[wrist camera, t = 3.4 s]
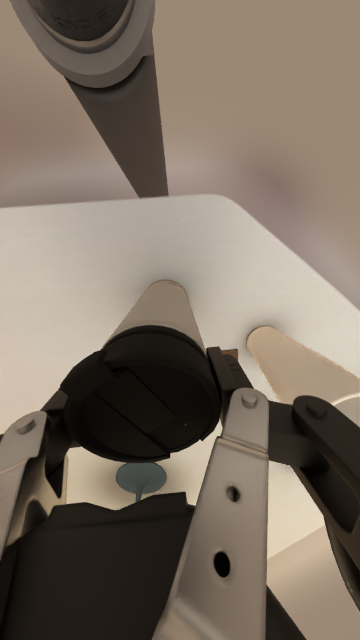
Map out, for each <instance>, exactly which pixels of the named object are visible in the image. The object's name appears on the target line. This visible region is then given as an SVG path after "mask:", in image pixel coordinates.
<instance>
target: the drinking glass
mask: <svg viewBox="0 0 360 640" xmlns="http://www.w3.org/2000/svg"><path fill="white" fill-rule="evenodd" d="M247 348H248V351H249V352H250V354H251V355H252V356H253V358H254V359H255V361H256V363H257V364H258V366H259V368H260V369H261V371H262V373H263V374H264V376H265V378H266V379H267V381H268V383H269V385H270V386H271V388H272V390H273V391H274V393H275V395H276V396H277V398H278V400H279V401H280V403H284V404H291V405H293V401H294V399H295V398H296V397H298V396H302V395H310V396H315V397H318V398H321V399H323V400H325V401H327V402H329V403H331V404H332V405H333V406H334V407H336V408H337V409H338V410H339V411H341V412H342V413H343V414H344V415H345V416H347V417H348V418H349V419H350V420H352V421H353V422H354V423H355V424H356V425H358V426H359V427H360V378H358V377H357V376H355V375H354V374H352V373H351V372H349V371H348V370H346V369H345V368H343V367H341V366H340V365H338V364H336V363H335V362H333V361H331V360H329V359H328V358H326V357H324V356H322V355H320V354H319V353H317V352H315V351H313V350H311V349H309V348H308V347H306V346H304V345H302V344H300V343H299V342H297V341H295V340H293V339H291V338H290V337H288V336H286V335H284V334H283V333H281V332H280V331H278V330H277V329H275V328H273V327H269V326H264V327H260V328H257V329H256V330H254V331H253V332H252V333H251V334H250V335H249V337H248V340H247Z"/></svg>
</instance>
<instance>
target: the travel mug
mask: <svg viewBox="0 0 360 640" xmlns="http://www.w3.org/2000/svg"><path fill="white" fill-rule="evenodd" d="M60 388H61V390H62V391H63V392H64V393H65V394H66V395H68V396H67V399H66V402H65V405H64V421H65V424H66V427H67V430H68V431H69V433H70V434H71V436H72V437H73V439H74V440H75V441H76V442H77V443H79V444H80V445H81V446H82V447H83V448H85V449H87V450H88V451H90V452H91V453H93V454H96V455H98V456H100V457H103V458H106V459H110V460H113V461H118V462H125V463H152V462H157V461H161V460H164V459H168V458H170V453H173V452H179V451H181V450H183V449H186V448H188V447H190V446H191V445H193V444H194V443H196V442H198V441H199V439H200V440H201V441H203V440H204V439H205V438H206V437H207V436H208V435H210V434H211V433H212V432H213V431H214V429H215V427H216V426H217V424H218V422H219V418H220V414H221V400H220V397H219V394H218V391H217V388H216V385H215V382H214V379H213V376H212V373H211V370H210V363H209V360H208V357H207V354H206V351H205V348H204V345H203V342H202V339H201V336H200V333H199V330H198V327H197V324H196V321H195V318H194V315H193V312H192V309H191V306H190V303H189V300H188V297H187V294H186V292H185V290H184V289H183V288H182V286H180V285H179V284H178V283H176V282H174V281H170V280H161V281H158V282H155V283H154V284H152V285H151V286H150V287H149V288H148V289H147V290H146V292H145V293H144V294H143V296H142V297H141V298H140V299H139V301H138V302H137V303H136V305H135V306H134V307H133V308H132V310H131V311H130V312H129V313H128V315H127V316H126V317H125V319H124V320H123V321H122V322H121V324H120V325H119V326H118V328H117V329H116V330H115V331H114V333H113V334H112V335H111V337H110V338H109V339H108V340H107V342H106V343H105V344H104V346H103V347H102V349H101V350H100V351H97V352H94V353H93V354H91V355H89V356H88V357H86V358H85V359H83V360H82V361H81V362H79V363H78V364H77V365H76V366H74V367H73V368H72V370H71V371H70V372H69V374H68V375H67V376H66V378H65V379H64V380H63V382H62V383H61V385H60Z"/></svg>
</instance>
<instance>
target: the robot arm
mask: <svg viewBox="0 0 360 640" xmlns="http://www.w3.org/2000/svg"><path fill="white" fill-rule="evenodd" d="M26 1H27V3H28V5H29V6H30V8H31V10H32V12H33V13H34V15H35V17H36V18H37V20H38V21H39V22H40V24H41V25H42V26H43V28H44V29H45V30H46V31H47V32H48V33H49V34H50V35H51V36H52V37H53V38H54V39H55V40H56V41H58V42H59V43H60V44H62V45H63V46H65V47H67V48H69V49H71V50H74V51H76V52H81V53H96V52H100V51H102V50H105V49H106V48H108V47H110V46H111V45H112V44H113V43H115V42H116V41H117V40H118V38H119V37H120V36H121V35H122V33H123V32H124V30H125V28H126V26H127V24H128V22H129V20H130V17H131V14H132V11H133V8H134V4H135V0H26ZM206 352H207V357H208V360H209V363H210V370H211V373H212V376H213V379H214V382H215V385H216V388H217V391H218V394H219V397H220V400H221V414H220V420H221V424H222V427H223V429H222V433H221V436H220V437H219V436H217V438H216V439H215V442H214V445H213V449H212V452H211V455H210V459H209V462H208V466H207V469H206V473H205V476H204V479H203V483H202V486H201V490H200V493H199V496H198V500H197V503H196V506H193V505H190V504H188V503H187V497H186V492H178V493H168V494H159V495H152V496H150V497H147V498H145V499H143V500H141V501H138V502H136V503H134V504H131V505H129V506H127V507H124V508H122V509H120V510H111V509H108V508H104V507H101V506H97V505H94V504H90V503H87V502H83V503H74V504H66V496H67V477H68V456H67V454H66V453H67V451H68V449H69V448H74V447H81V445H80V444H79V443H77V442H76V441H75V440H74V439H73V437H72V436H71V434H70V433H69V431H68V430H67V427H66V424H65V421H64V405H65V402H66V399H67V396H68V395H66V394H65V393H64V392H63V391H62V390H61V388H59V389H58V391H57V392H56V393H55V394H54V395H53V396H52V397H51V398H50V400H49V401H48V402H47V403H46V404H45V405H44V406H43V408H42V409H41V410H40V411H36V412H32V413H30V414H27V415H25V416H23V417H22V418H20V419H18V420H17V421H16V422H14V423H13V424H12V425H11V426H10V427H9V428H8V429H7V430H6V432H5V433H4V434H2V435H0V640H306V638H305V637H304V636H303V634H302V633H301V631H300V630H299V629H298V627H297V626H296V625H295V623H294V622H293V620H292V619H291V618H290V616H289V615H288V614H287V612H286V611H285V609H284V608H283V607H282V605H281V604H280V602H279V601H278V600H277V599H276V597H275V596H274V594H273V593H272V591H271V590H270V589H269V587H268V586H267V584H266V575H267V523H268V469H269V460H270V461H274V462H278V463H282V464H286V465H290V466H291V467H292V469H293V470H294V472H295V473H296V475H297V476H298V478H299V479H300V481H301V482H302V484H303V485H304V487H305V488H306V490H307V491H308V493H309V494H310V496H311V497H312V499H313V501H314V502H315V504H316V505H317V507H318V508H319V510H320V511H321V513H322V514H323V516H324V517H325V519H326V520H327V522H328V523H329V525H330V526H331V528H332V529H333V531H334V532H335V534H336V535H337V537H338V538H339V540H340V542H341V543H342V545H343V546H344V548H345V549H346V551H347V552H348V554H349V555H350V557H351V558H352V560H353V561H354V563H355V564H356V566H357V567H358V569H359V570H360V427H359V426H358V425H356V424H355V423H354V422H353V421H352V420H350V419H349V418H348V417H347V416H345V415H344V414H343V413H342V412H341V411H339V410H338V409H337V408H336V407H334V406H333V405H332V404H331V403H329V402H327V401H325V400H323V399H321V398H318V397H315V396H310V395H302V396H298V397H296V398H295V399H294V401H293V405H291V404H284V403H278V402H273V401H270V400H268V399H267V397H266V396H265V395H264V394H263V393H261V392H260V391H258V390H255V389H254V388H253V386H252V384H251V383H250V381H249V379H248V378H247V376H246V374H245V373H244V371H243V370H242V368H241V366H240V365H239V363H238V361H237V359H236V358H235V357H233V356H232V355H230V354H223V353H222V351H221V349H220V347H219V346H218V347H210V348H206Z"/></svg>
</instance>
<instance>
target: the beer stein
mask: <svg viewBox="0 0 360 640" xmlns="http://www.w3.org/2000/svg"><path fill="white" fill-rule="evenodd" d="M324 521H325V525H326V529H327V533H328V537H329V540H330V543H331V548H332V551H333V554H334V557H335V559H336V562H337V565H338V568H339V570H340V573H341V575H342V578H343V580H344V582H345V585H346V587H347V589H348V591H349V593H350V595H351V597H352V598H353V600H354V602H355V604H356V606H357V607H358V609H359V611H360V570H359V569H358V567H357V566H356V564H355V563H354V561H353V560H352V558H351V557H350V555H349V554H348V552H347V551H346V549H345V548H344V546H343V545H342V543H341V542H340V540H339V538H338V537H337V535H336V534H335V532H334V531H333V529H332V528H331V526H330V525H329V523H328V522H327V520H326V519H325V517H324Z"/></svg>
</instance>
